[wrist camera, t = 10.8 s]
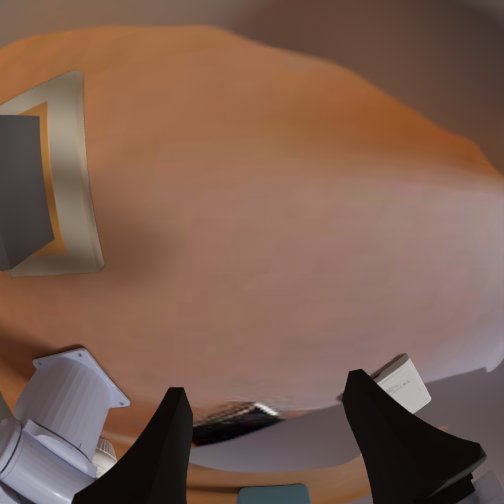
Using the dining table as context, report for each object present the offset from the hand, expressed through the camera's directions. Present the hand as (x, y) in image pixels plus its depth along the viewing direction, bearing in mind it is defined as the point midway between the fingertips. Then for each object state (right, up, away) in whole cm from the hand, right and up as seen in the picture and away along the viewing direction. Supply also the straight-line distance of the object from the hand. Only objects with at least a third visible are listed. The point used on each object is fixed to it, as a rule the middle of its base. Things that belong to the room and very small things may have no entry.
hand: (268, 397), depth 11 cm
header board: (-17, +11, +5) cm, 21 cm away
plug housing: (-17, +11, +3) cm, 20 cm away
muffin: (-21, -20, +17) cm, 34 cm away
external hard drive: (+16, -11, +16) cm, 25 cm away
